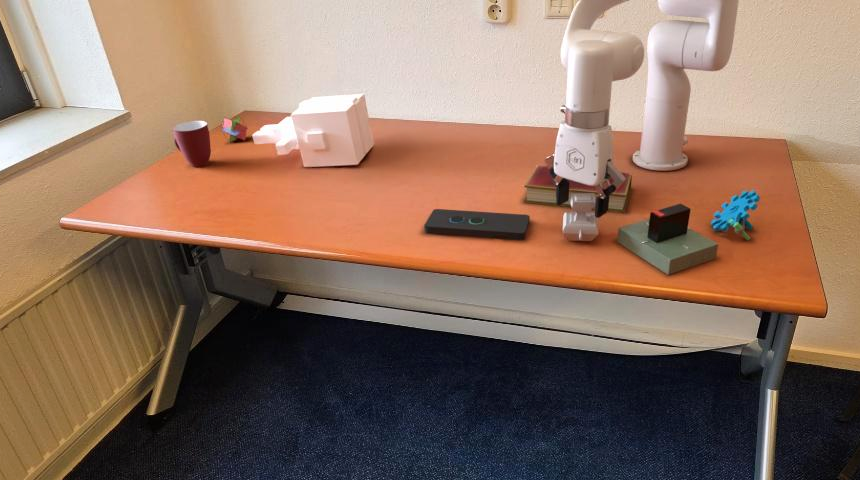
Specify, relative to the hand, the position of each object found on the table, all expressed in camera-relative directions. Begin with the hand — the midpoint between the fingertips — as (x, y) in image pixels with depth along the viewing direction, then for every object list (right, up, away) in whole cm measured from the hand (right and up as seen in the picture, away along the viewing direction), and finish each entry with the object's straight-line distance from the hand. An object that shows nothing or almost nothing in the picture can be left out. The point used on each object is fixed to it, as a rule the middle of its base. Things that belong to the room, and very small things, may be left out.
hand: (581, 208), depth 123 cm
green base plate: (+15, -8, -2) cm, 17 cm away
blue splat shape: (+30, -4, +4) cm, 30 cm away
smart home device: (-19, -3, +9) cm, 21 cm away
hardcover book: (+3, +5, +19) cm, 20 cm away
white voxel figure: (-60, +19, +46) cm, 77 cm away
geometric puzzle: (-84, +26, +58) cm, 106 cm away
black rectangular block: (+15, -5, -4) cm, 16 cm away
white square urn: (0, -5, +4) cm, 6 cm away
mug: (-90, +17, +45) cm, 102 cm away
